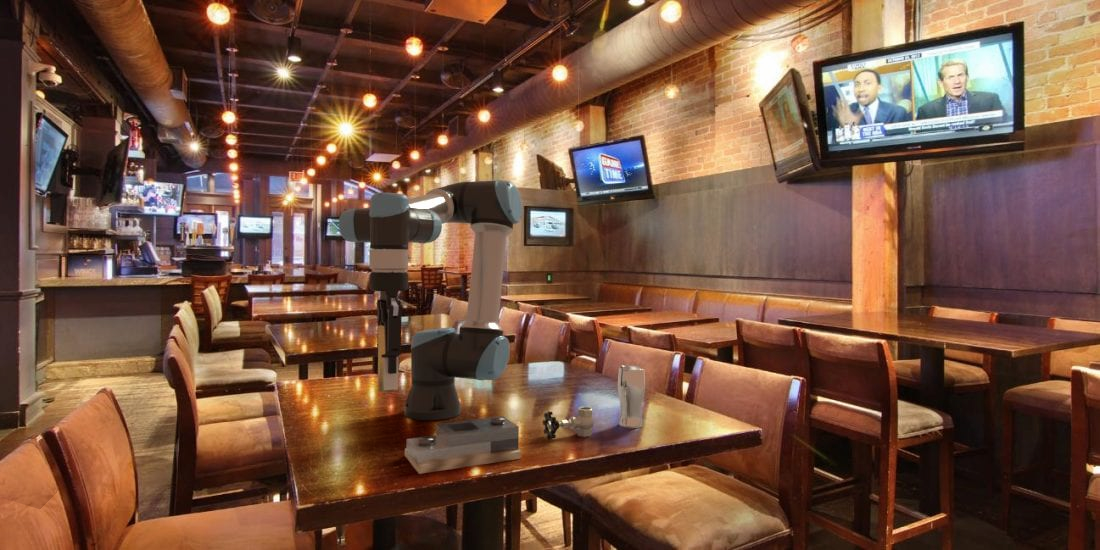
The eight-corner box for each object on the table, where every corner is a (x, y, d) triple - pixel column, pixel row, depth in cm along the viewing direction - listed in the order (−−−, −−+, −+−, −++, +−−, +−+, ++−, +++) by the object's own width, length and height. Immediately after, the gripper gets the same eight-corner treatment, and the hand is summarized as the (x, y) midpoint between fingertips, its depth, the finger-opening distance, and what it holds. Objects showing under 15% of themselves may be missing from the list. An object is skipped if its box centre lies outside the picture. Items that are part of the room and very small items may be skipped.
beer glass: (643, 429, 150) (644, 370, 149) (615, 427, 151) (616, 369, 151) (644, 422, 157) (645, 365, 156) (618, 420, 158) (619, 364, 158)
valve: (586, 430, 149) (542, 435, 144) (586, 404, 149) (542, 408, 144) (598, 438, 143) (553, 443, 138) (599, 410, 143) (553, 415, 138)
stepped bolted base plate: (417, 463, 118) (417, 434, 118) (406, 450, 126) (406, 422, 126) (518, 449, 128) (518, 421, 128) (502, 437, 136) (502, 411, 136)
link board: (419, 473, 117) (419, 466, 117) (404, 455, 128) (404, 448, 128) (521, 458, 127) (521, 451, 127) (499, 442, 138) (499, 436, 138)
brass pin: (373, 390, 119) (374, 326, 119) (386, 386, 123) (387, 324, 122) (389, 392, 117) (390, 327, 117) (402, 388, 121) (403, 325, 121)
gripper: (418, 272, 113) (417, 394, 114) (398, 269, 129) (398, 377, 129) (377, 272, 110) (377, 397, 111) (362, 269, 125) (362, 380, 126)
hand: (388, 386), depth 120 cm, fingers closed on brass pin, 4 cm apart
